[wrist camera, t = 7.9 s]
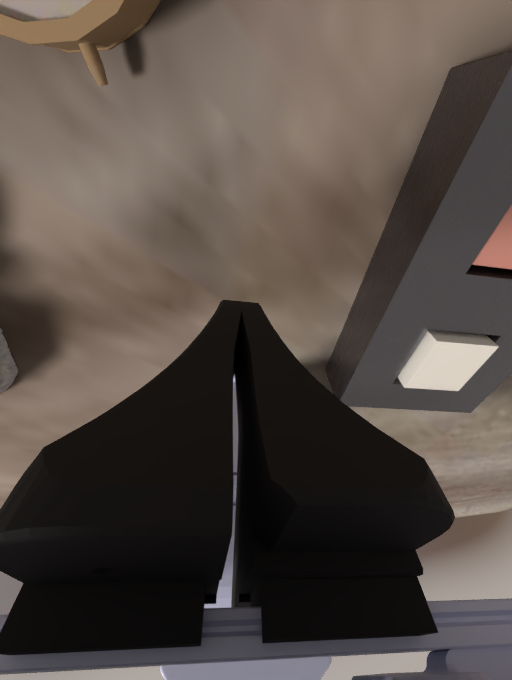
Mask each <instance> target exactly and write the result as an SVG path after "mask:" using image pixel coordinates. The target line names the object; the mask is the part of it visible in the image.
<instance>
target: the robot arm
mask: <svg viewBox="0 0 512 680" xmlns="http://www.w3.org/2000/svg"><path fill="white" fill-rule="evenodd" d="M234 371H235V374H234ZM454 518H455V516H454V512H453V510H452V508H451V506H450V504H449V502H448V500H447V498H446V497H445V495H444V493H443V491H442V489H441V487H440V485H439V484H438V482H437V480H436V478H435V476H434V475H433V473H432V471H431V469H430V468H429V466H428V464H427V463H426V461H425V459H424V458H422V457H421V456H419V455H417V454H416V453H414V452H413V451H411V450H410V449H408V448H407V447H405V446H403V445H402V444H400V443H399V442H397V441H396V440H394V439H393V438H391V437H390V436H388V435H386V434H385V433H383V432H382V431H380V430H379V429H377V428H376V427H375V426H373V425H372V424H370V423H369V422H368V421H366V420H365V419H364V418H362V417H361V416H360V415H358V414H357V413H355V412H354V411H353V410H352V409H350V408H349V407H348V406H346V405H345V404H344V403H343V402H341V401H340V400H339V399H338V398H337V397H336V396H334V395H333V394H332V393H331V392H330V391H329V390H327V389H326V388H325V387H324V386H323V385H322V384H321V383H320V382H319V381H317V380H316V379H315V378H314V377H313V376H312V375H311V374H310V373H309V372H308V371H307V370H306V369H305V367H304V366H303V365H302V364H301V363H300V362H299V361H298V360H297V359H296V358H295V356H294V355H293V354H292V353H291V351H290V350H289V349H288V348H287V346H286V345H285V344H284V342H283V341H282V340H281V338H280V337H279V335H278V334H277V332H276V331H275V329H274V328H273V326H272V325H271V323H270V322H269V320H268V318H267V317H266V315H265V313H264V311H263V310H262V308H261V306H260V305H259V303H251V302H241V301H231V300H223V301H221V302H220V304H219V306H218V308H217V310H216V312H215V313H214V315H213V316H212V318H211V319H210V321H209V322H208V324H207V325H206V326H205V328H204V329H203V330H202V332H201V333H200V334H199V335H198V336H197V337H196V339H195V340H194V341H193V342H192V343H191V344H190V345H189V347H188V348H187V349H186V350H185V351H184V352H183V353H182V354H181V355H180V356H179V357H178V358H177V359H176V360H175V361H173V362H172V363H171V364H170V365H169V366H168V367H167V368H166V369H164V370H163V371H162V372H161V373H160V374H158V375H157V376H156V377H155V378H154V379H152V380H151V381H150V382H149V383H147V384H146V385H145V386H143V387H142V388H141V389H139V390H138V391H136V392H135V393H133V394H132V395H130V396H129V397H128V398H126V399H125V400H123V401H122V402H120V403H119V404H117V405H116V406H114V407H113V408H111V409H110V410H108V411H107V412H105V413H104V414H102V415H100V416H99V417H97V418H95V419H94V420H92V421H90V422H88V423H87V424H85V425H83V426H81V427H80V428H78V429H76V430H74V431H73V432H71V433H69V434H67V435H65V436H64V437H62V438H60V439H58V440H57V441H55V442H53V443H51V444H49V445H47V446H45V447H44V448H43V449H42V450H41V452H40V453H39V455H38V456H37V457H36V459H35V460H34V461H33V462H32V464H31V465H30V466H29V467H28V469H27V470H26V471H25V472H24V474H23V475H22V477H21V478H20V480H19V481H18V483H17V484H16V485H15V487H14V489H13V490H12V492H11V493H10V495H9V497H8V498H7V500H6V501H5V503H4V504H3V506H2V508H1V509H0V571H2V572H4V573H5V574H7V575H9V576H11V577H13V578H15V579H17V580H19V581H21V582H23V583H24V584H23V586H22V588H21V590H20V592H19V594H18V596H17V598H16V600H15V602H14V604H13V607H12V609H11V611H10V613H9V615H0V674H17V673H37V672H55V671H73V670H89V669H90V670H92V669H109V668H129V667H147V666H160V672H161V674H162V676H163V678H164V679H165V680H320V679H321V678H322V677H323V675H324V674H325V672H326V671H327V669H328V668H329V666H330V664H331V656H348V655H367V654H385V653H404V652H423V651H432V652H430V653H429V655H428V657H427V667H426V670H425V671H424V672H414V673H387V674H375V675H362V676H353V678H352V680H512V599H483V600H452V601H426V598H425V596H424V593H423V591H422V588H421V585H420V583H419V581H418V578H417V576H420V575H422V574H423V568H422V565H421V563H420V560H419V558H418V555H417V553H416V551H415V550H416V549H418V548H419V547H421V546H423V545H425V544H426V543H428V542H430V541H432V540H433V539H435V538H437V537H438V536H440V535H442V534H443V533H444V532H446V531H447V530H448V529H449V528H450V527H451V525H452V523H453V521H454Z"/></svg>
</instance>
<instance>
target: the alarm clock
mask: <svg viewBox="0 0 512 680" xmlns="http://www.w3.org/2000/svg"><path fill="white" fill-rule="evenodd" d="M160 1H161V0H0V34H2V35H5V36H8V37H11V38H14V39H16V40H19V41H22V42H25V43H28V44H31V45H45V46H50V47H54V48H57V49H60V50H63V51H66V52H69V53H74V52H82V54H83V56H84V58H85V61H86V63H87V65H88V68H89V69H90V71H91V73H92V75H93V76H94V78H95V80H96V82H97V83H98V85H99V86H103V85H107V84H108V82H107V78H106V74H105V70H104V67H103V63H102V61H101V58H100V56H99V53H98V51H100V50H110V49H112V48H113V47H115V46H116V45H118V44H119V43H121V42H123V41H124V40H126V39H127V38H129V37H130V36H132V35H134V34H135V33H137V32H138V31H140V30H141V29H143V28H144V27H145V25H146V23H147V22H148V20H149V19H150V17H151V16H152V14H153V13H154V11H155V9H156V8H157V6H158V5H159V3H160Z"/></svg>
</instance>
